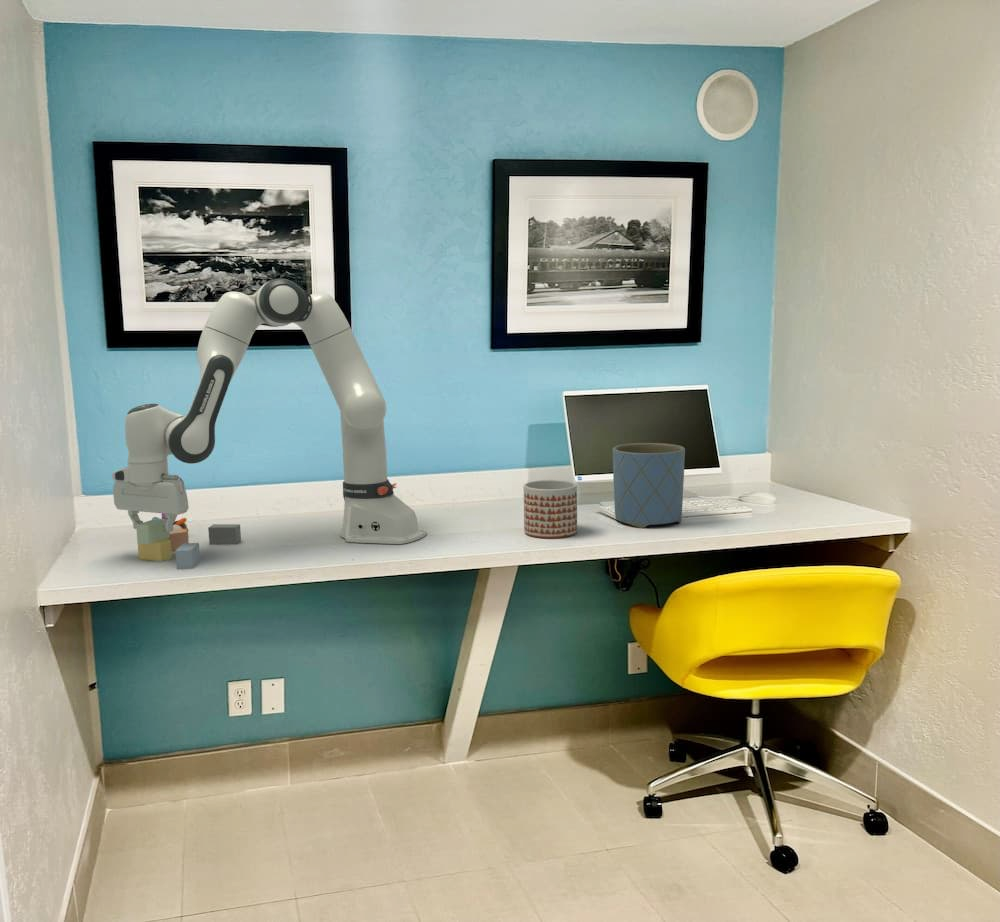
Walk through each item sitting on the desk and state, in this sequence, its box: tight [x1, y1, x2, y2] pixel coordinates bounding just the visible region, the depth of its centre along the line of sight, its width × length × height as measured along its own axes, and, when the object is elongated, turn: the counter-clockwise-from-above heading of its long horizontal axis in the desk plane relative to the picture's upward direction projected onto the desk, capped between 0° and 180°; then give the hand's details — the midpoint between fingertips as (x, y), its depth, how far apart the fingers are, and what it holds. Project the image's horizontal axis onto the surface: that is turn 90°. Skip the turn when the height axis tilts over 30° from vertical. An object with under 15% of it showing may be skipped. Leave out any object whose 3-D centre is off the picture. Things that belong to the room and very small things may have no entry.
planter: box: [612, 442, 686, 529], centre depth 256 cm, size 19×19×20 cm
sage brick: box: [135, 517, 170, 544], centre depth 228 cm, size 7×4×4 cm, turn 158°
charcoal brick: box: [207, 523, 242, 545], centre depth 243 cm, size 7×4×4 cm, turn 86°
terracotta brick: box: [167, 529, 190, 552], centre depth 237 cm, size 7×4×4 cm, turn 121°
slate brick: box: [175, 542, 200, 570], centre depth 222 cm, size 7×4×4 cm, turn 4°
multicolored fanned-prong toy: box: [151, 513, 189, 533], centre depth 249 cm, size 8×10×7 cm
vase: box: [523, 479, 578, 540], centre depth 246 cm, size 14×14×13 cm
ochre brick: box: [137, 539, 173, 562], centre depth 229 cm, size 7×4×4 cm, turn 66°
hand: (153, 529), depth 228 cm, fingers open, 8 cm apart
